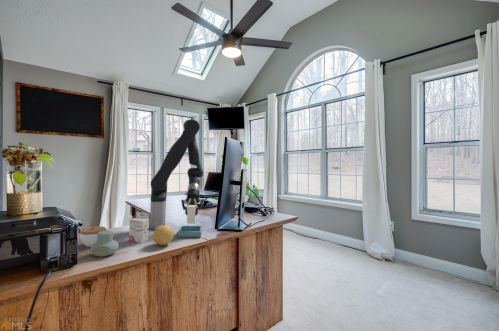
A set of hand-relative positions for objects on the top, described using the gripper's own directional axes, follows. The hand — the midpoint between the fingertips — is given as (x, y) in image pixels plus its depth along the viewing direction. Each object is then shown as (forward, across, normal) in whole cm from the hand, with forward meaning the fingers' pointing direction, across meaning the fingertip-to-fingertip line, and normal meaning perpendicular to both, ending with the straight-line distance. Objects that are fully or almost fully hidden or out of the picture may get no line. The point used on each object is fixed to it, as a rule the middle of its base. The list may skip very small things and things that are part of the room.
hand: (191, 214), depth 136 cm
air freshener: (+28, -35, -11) cm, 46 cm away
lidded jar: (+18, -46, -2) cm, 50 cm away
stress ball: (+20, -12, -3) cm, 24 cm away
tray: (+8, 0, +9) cm, 12 cm away
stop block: (+3, 0, +4) cm, 5 cm away
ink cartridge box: (+15, -26, +2) cm, 30 cm away
